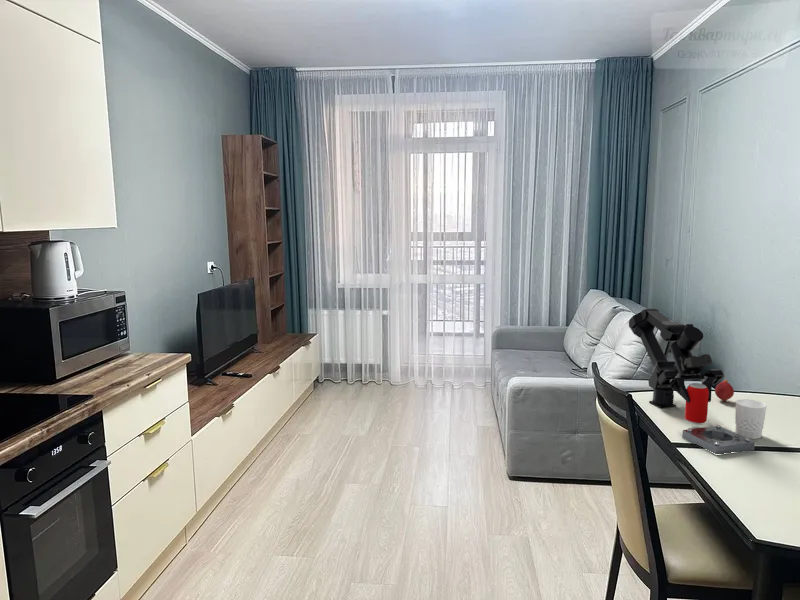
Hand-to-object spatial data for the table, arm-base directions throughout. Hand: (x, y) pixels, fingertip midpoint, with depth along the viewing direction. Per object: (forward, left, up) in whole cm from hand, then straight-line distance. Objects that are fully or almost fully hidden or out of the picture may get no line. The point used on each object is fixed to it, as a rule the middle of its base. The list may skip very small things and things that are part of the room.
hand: (699, 401), depth 174 cm
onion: (-19, +28, -9) cm, 35 cm away
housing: (+11, -3, -9) cm, 14 cm away
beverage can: (-1, 0, -7) cm, 7 cm away
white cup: (+8, +12, -9) cm, 17 cm away
